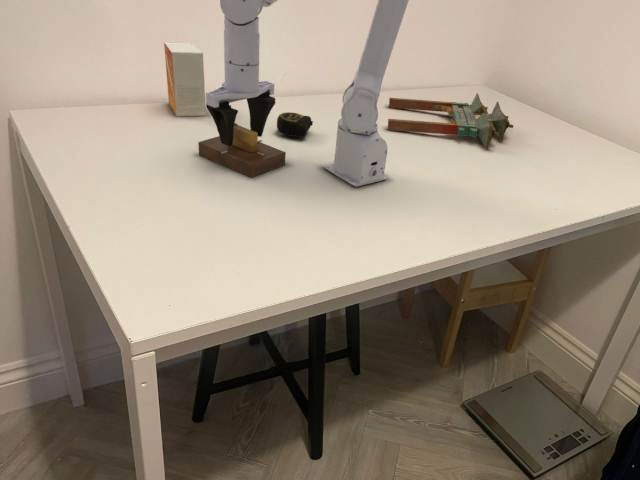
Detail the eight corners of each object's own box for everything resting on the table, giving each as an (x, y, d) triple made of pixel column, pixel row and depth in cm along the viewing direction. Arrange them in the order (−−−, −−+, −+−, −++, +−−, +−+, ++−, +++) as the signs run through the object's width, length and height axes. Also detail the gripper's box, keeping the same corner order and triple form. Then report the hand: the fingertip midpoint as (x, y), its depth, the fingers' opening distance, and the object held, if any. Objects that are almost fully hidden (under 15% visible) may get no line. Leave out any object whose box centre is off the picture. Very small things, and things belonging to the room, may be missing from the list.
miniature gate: (390, 86, 146) (504, 95, 147) (388, 108, 149) (500, 116, 150) (388, 118, 124) (522, 128, 124) (386, 142, 127) (517, 152, 127)
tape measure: (304, 142, 116) (305, 124, 114) (272, 136, 116) (272, 118, 114) (312, 132, 121) (313, 115, 119) (281, 126, 122) (282, 109, 119)
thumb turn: (257, 150, 102) (257, 131, 100) (251, 152, 101) (251, 133, 99) (233, 141, 104) (233, 121, 102) (227, 142, 103) (226, 123, 101)
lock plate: (287, 164, 105) (287, 150, 104) (249, 178, 98) (249, 164, 96) (236, 143, 110) (236, 130, 109) (196, 155, 103) (195, 141, 101)
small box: (168, 104, 123) (163, 41, 116) (197, 104, 126) (194, 42, 119) (175, 116, 118) (171, 51, 110) (206, 116, 120) (203, 52, 113)
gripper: (254, 51, 101) (253, 125, 109) (191, 60, 90) (195, 141, 98) (284, 61, 98) (281, 135, 106) (223, 71, 88) (224, 153, 95)
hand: (242, 139), depth 102 cm, fingers open, 7 cm apart
